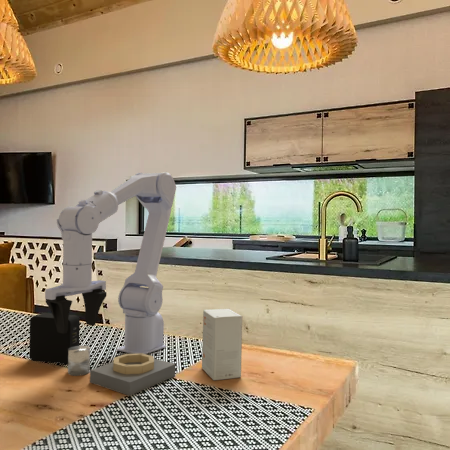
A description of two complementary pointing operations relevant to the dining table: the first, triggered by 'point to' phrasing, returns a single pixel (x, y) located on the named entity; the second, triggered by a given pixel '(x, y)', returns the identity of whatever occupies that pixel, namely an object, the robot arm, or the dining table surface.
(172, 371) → the grey square plate
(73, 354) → the shiny metal cylinder
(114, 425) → the dining table surface
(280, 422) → the dining table surface
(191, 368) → the dining table surface
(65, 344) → the electronic device
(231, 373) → the small box
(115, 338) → the dining table surface
